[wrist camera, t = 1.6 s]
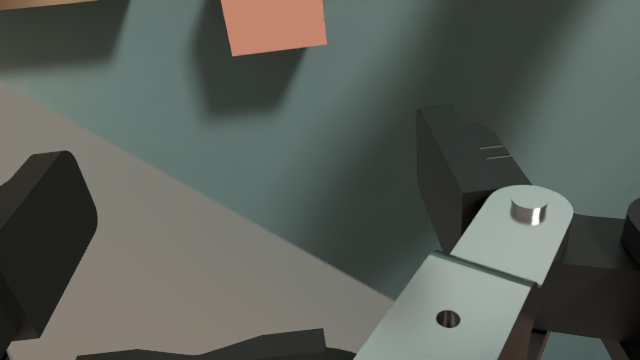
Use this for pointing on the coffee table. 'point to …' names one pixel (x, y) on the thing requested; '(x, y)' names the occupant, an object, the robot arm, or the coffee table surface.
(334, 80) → the coffee table surface
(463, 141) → the robot arm
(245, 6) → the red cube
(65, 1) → the walnut block
